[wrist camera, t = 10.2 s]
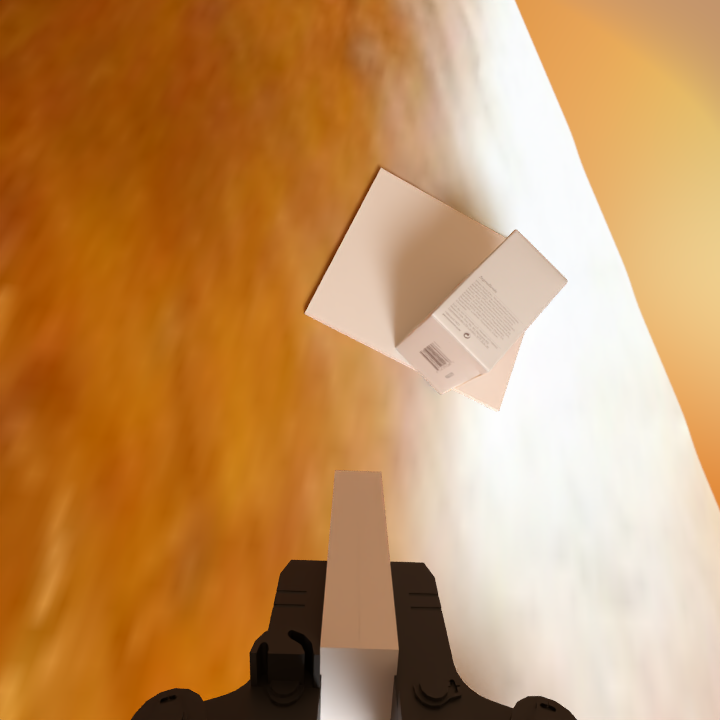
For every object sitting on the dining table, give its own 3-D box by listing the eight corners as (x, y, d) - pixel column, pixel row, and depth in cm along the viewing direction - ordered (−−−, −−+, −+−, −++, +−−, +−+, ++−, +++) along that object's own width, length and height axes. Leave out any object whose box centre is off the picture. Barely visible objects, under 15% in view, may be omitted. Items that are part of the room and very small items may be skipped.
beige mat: (379, 171, 43) (380, 167, 43) (544, 263, 45) (547, 261, 45) (304, 313, 38) (305, 311, 37) (495, 411, 39) (498, 410, 39)
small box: (488, 374, 31) (572, 279, 34) (428, 313, 31) (518, 225, 34) (440, 397, 38) (513, 317, 42) (392, 348, 38) (469, 273, 42)
